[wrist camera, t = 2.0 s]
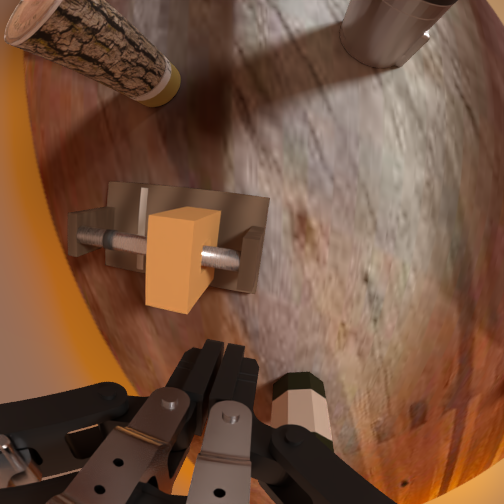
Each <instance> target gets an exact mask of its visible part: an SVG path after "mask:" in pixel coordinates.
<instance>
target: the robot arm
mask: <svg viewBox="0 0 504 504" xmlns="http://www.w3.org/2000/svg"><path fill="white" fill-rule="evenodd" d="M456 1H457V0H350V3H349V6H348V9H347V11H346V14H345V17H344V19H343V22H342V25H341V28H340V39H341V42H342V44H343V46H344V48H345V49H346V50H347V52H348V53H349V54H350V55H351V56H353V57H354V58H355V59H356V60H358V61H360V62H361V63H363V64H366V65H368V66H371V67H375V68H387V67H390V66H394V65H396V66H399V67H402V66H403V65H404V64H405V63H406V62H407V61H408V60H409V59H410V58H411V57H412V56H413V55H414V54H415V53H416V52H417V51H418V50H419V49H420V48H421V47H422V46H423V45H424V44H425V43H426V42H428V41H429V38H430V35H429V29H430V28H431V27H432V26H433V25H434V24H435V23H436V22H437V21H438V20H439V19H440V18H441V17H442V15H443V14H444V13H445V12H446V11H447V10H448V9H449V8H450V7H451V6H452V5H453V4H454V3H456ZM223 351H224V342H220V341H215V340H210V339H207V340H206V342H205V344H204V346H203V348H202V349H198V348H194V347H193V348H191V349H190V350H188V351H187V352H185V353H184V355H183V357H182V358H181V361H180V362H179V364H178V365H177V367H176V369H175V370H174V372H173V374H172V376H171V377H170V379H169V381H168V383H167V384H166V386H165V387H163V388H159V389H157V390H155V391H154V392H153V393H152V394H151V395H150V396H149V397H138V396H127V391H126V390H125V388H124V387H122V386H121V385H119V384H117V383H114V382H101V383H98V384H94V385H90V386H86V387H82V388H78V389H74V390H69V391H66V392H61V393H57V394H52V395H47V396H42V397H38V398H32V399H27V400H22V401H17V402H10V403H4V404H0V504H249V498H250V481H251V477H252V478H255V479H257V480H258V482H259V484H260V486H261V487H262V488H263V489H264V490H265V492H266V493H267V494H268V495H269V496H270V498H271V499H272V500H273V501H274V502H275V503H276V504H397V503H395V502H394V501H393V500H391V499H390V498H389V497H387V496H386V495H385V494H383V493H382V492H381V491H379V490H378V489H377V488H376V487H374V486H373V485H372V484H370V483H369V482H368V481H367V480H365V479H364V478H363V477H362V476H361V475H359V474H358V473H357V472H356V471H355V470H353V469H352V468H351V467H350V466H349V465H347V464H346V463H345V462H344V461H343V460H342V459H340V458H339V457H338V456H337V455H336V454H335V453H334V452H332V451H331V450H330V449H329V448H328V447H327V446H326V445H325V444H323V443H322V442H321V441H320V440H319V439H318V438H317V437H316V436H315V435H314V434H313V433H311V432H310V431H309V430H308V429H306V428H305V427H302V426H300V425H295V424H286V425H282V426H280V427H278V428H273V427H270V426H268V425H266V424H264V423H262V422H261V421H259V420H258V419H257V418H256V416H255V415H254V412H253V405H254V398H255V392H256V385H257V378H258V372H259V366H258V364H257V362H256V360H255V359H250V358H244V351H245V346H242V345H236V344H231V343H228V345H227V348H226V351H225V354H224V356H223ZM207 417H208V422H207V426H206V430H205V435H204V439H203V443H202V448H201V452H200V453H199V454H198V456H197V459H196V464H195V468H194V472H193V476H192V481H191V485H190V489H189V493H188V496H178V495H171V493H172V487H173V484H174V481H175V479H176V477H177V475H178V473H179V471H180V469H181V467H182V465H183V462H184V460H185V458H186V456H187V454H188V452H189V449H190V443H191V441H192V439H193V436H194V435H199V436H201V435H202V432H203V429H204V426H205V423H206V420H207ZM95 424H98V426H96V427H93V428H90V429H86V430H82V431H79V432H75V433H71V434H67V433H68V432H70V431H74V430H78V429H81V428H85V427H88V426H92V425H95ZM79 468H82V469H81V470H80V471H78V472H74V473H70V474H67V475H63V476H59V477H56V478H52V479H48V480H43V481H41V479H42V478H43V477H47V476H52V475H56V474H60V473H64V472H68V471H72V470H75V469H79Z"/></svg>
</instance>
